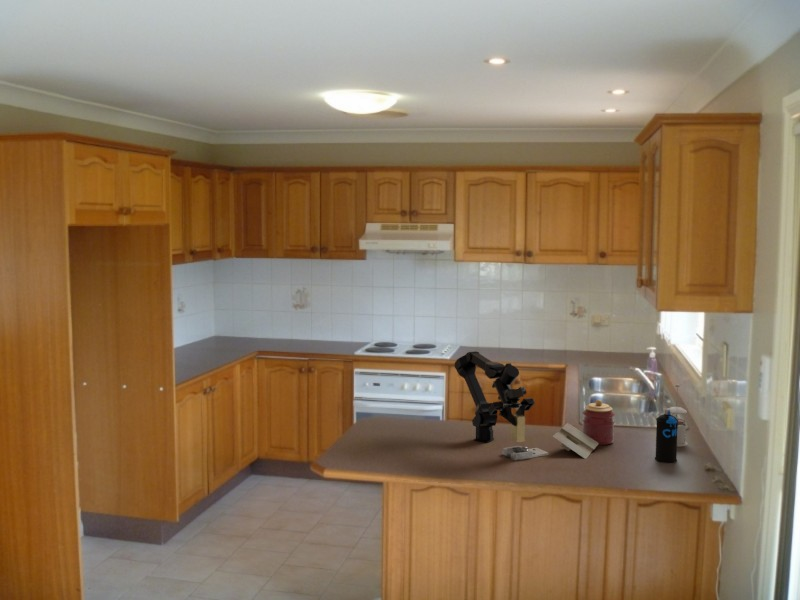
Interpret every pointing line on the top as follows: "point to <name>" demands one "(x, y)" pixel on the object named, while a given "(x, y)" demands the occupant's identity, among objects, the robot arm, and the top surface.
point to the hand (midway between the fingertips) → (519, 424)
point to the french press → (680, 423)
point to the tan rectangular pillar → (518, 428)
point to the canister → (599, 422)
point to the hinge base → (523, 452)
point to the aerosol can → (666, 438)
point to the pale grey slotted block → (575, 440)
